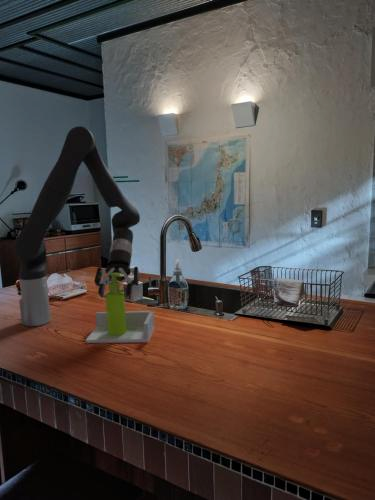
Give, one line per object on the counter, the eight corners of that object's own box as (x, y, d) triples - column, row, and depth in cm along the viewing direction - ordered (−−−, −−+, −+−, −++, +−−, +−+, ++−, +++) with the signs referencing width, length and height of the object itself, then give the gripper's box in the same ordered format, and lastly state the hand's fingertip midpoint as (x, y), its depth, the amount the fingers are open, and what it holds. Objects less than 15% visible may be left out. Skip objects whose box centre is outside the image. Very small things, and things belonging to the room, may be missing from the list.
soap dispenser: (119, 337, 123) (115, 275, 120) (104, 333, 127) (100, 273, 124) (132, 331, 128) (128, 272, 125) (117, 327, 132) (114, 270, 129)
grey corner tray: (85, 342, 122) (84, 324, 122) (97, 328, 135) (96, 312, 134) (148, 342, 121) (147, 323, 120) (154, 327, 134) (153, 311, 133)
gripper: (97, 248, 131) (89, 290, 122) (139, 247, 130) (134, 289, 121) (102, 261, 137) (95, 301, 128) (142, 260, 136) (138, 301, 127)
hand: (114, 295), depth 124 cm, fingers open, 8 cm apart
